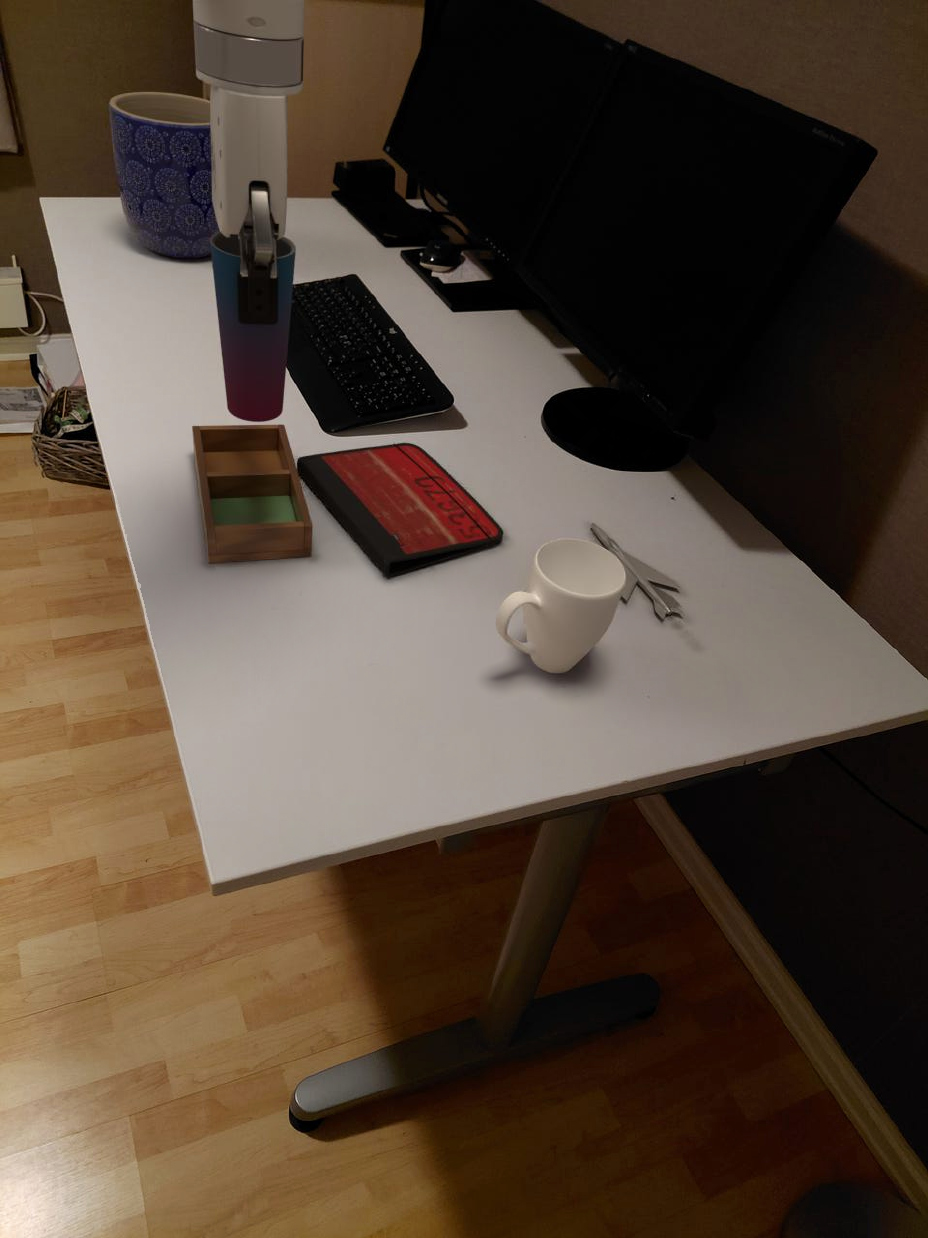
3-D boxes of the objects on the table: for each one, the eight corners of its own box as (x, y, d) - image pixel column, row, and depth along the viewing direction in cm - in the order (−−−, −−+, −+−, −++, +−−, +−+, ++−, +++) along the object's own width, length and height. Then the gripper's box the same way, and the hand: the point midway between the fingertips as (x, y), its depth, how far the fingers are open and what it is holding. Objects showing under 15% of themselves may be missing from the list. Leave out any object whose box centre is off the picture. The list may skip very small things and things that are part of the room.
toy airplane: (616, 522, 100) (622, 506, 99) (725, 640, 87) (733, 624, 86) (562, 531, 97) (566, 514, 96) (665, 655, 84) (673, 638, 82)
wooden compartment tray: (208, 563, 84) (206, 531, 81) (194, 456, 97) (192, 425, 94) (311, 556, 87) (312, 525, 84) (283, 453, 100) (284, 424, 98)
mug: (560, 619, 86) (588, 528, 78) (611, 674, 81) (646, 583, 73) (461, 652, 80) (481, 558, 72) (509, 713, 75) (536, 618, 67)
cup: (300, 398, 81) (304, 237, 71) (281, 432, 76) (283, 265, 66) (230, 385, 81) (225, 222, 71) (207, 418, 76) (198, 248, 66)
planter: (158, 273, 132) (144, 126, 119) (103, 232, 141) (85, 91, 128) (259, 259, 143) (258, 122, 129) (203, 221, 152) (196, 90, 138)
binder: (388, 561, 84) (295, 455, 96) (385, 579, 86) (294, 472, 98) (513, 531, 93) (414, 436, 105) (508, 548, 94) (411, 452, 106)
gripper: (187, 28, 65) (200, 264, 77) (204, 81, 53) (216, 351, 65) (285, 40, 67) (283, 268, 79) (323, 94, 56) (313, 352, 68)
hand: (253, 303), depth 72 cm, fingers closed on cup, 6 cm apart
